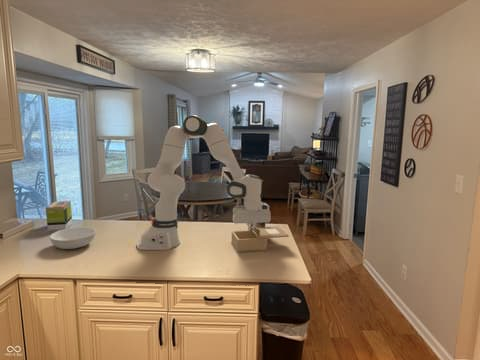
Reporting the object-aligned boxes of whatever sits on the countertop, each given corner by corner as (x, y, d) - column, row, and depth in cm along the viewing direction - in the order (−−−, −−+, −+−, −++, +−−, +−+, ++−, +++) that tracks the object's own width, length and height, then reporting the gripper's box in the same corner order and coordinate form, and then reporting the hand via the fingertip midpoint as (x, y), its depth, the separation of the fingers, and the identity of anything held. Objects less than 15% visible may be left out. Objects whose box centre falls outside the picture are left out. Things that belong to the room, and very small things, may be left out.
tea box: (55, 223, 198) (53, 200, 196) (72, 223, 201) (71, 200, 198) (47, 231, 184) (45, 206, 182) (66, 230, 187) (64, 206, 184)
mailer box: (237, 253, 160) (237, 239, 159) (231, 243, 174) (231, 231, 172) (266, 251, 164) (267, 238, 163) (259, 241, 177) (259, 229, 176)
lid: (257, 238, 161) (257, 232, 160) (249, 229, 175) (250, 223, 175) (288, 236, 165) (288, 230, 164) (278, 227, 179) (278, 222, 179)
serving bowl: (75, 236, 177) (74, 225, 176) (104, 242, 170) (104, 229, 169) (40, 249, 157) (39, 236, 156) (72, 256, 151) (72, 242, 150)
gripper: (234, 207, 160) (233, 233, 162) (272, 206, 164) (271, 231, 167) (231, 204, 166) (230, 229, 168) (268, 203, 171) (267, 227, 173)
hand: (251, 230), depth 167 cm, fingers closed
